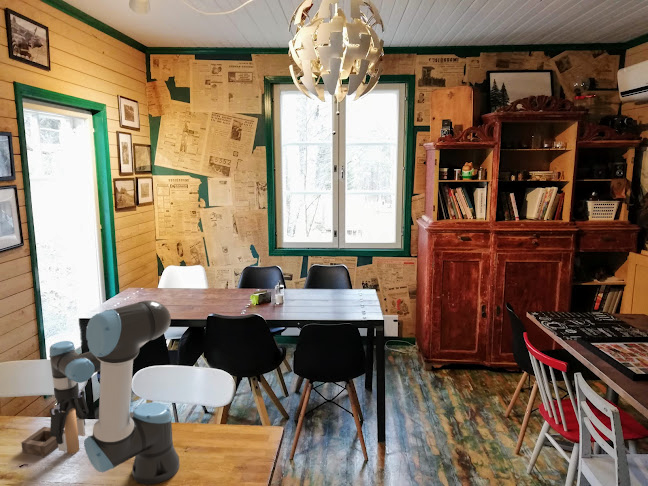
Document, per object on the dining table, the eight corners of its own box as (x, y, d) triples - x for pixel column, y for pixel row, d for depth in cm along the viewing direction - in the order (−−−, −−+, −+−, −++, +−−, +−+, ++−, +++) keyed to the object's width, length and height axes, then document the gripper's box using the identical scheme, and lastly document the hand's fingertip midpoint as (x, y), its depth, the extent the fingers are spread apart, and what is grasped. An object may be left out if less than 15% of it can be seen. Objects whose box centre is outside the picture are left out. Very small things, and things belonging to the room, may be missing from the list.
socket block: (67, 439, 172) (66, 430, 171) (46, 456, 162) (44, 446, 161) (45, 436, 174) (43, 426, 173) (22, 452, 164) (21, 442, 164)
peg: (82, 448, 167) (77, 408, 164) (74, 455, 163) (69, 414, 160) (72, 446, 168) (68, 407, 165) (64, 453, 164) (59, 413, 161)
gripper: (78, 370, 171) (84, 424, 176) (32, 399, 151) (39, 459, 156) (96, 372, 170) (101, 427, 174) (51, 401, 150) (58, 463, 154)
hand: (72, 442), depth 165 cm, fingers open, 8 cm apart
